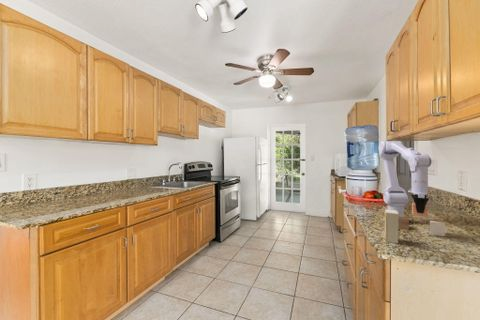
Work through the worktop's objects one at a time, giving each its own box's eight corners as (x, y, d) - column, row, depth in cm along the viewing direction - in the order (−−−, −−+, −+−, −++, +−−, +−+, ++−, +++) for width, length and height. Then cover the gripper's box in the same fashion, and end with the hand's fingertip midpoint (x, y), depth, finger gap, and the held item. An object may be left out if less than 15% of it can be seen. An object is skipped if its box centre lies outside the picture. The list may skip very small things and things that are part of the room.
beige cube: (430, 231, 100) (430, 220, 100) (444, 233, 97) (444, 222, 97) (429, 234, 96) (429, 223, 96) (445, 236, 93) (445, 225, 93)
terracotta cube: (412, 213, 100) (412, 202, 100) (426, 214, 98) (426, 203, 98) (413, 215, 96) (413, 204, 96) (427, 217, 93) (427, 205, 93)
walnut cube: (393, 225, 109) (393, 215, 109) (405, 226, 107) (405, 216, 107) (396, 228, 104) (395, 218, 104) (408, 229, 102) (408, 219, 102)
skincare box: (384, 237, 93) (384, 209, 93) (397, 239, 91) (397, 210, 91) (385, 242, 88) (385, 212, 87) (398, 244, 85) (398, 213, 85)
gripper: (407, 179, 105) (407, 207, 105) (409, 182, 93) (409, 213, 93) (426, 180, 101) (426, 209, 101) (431, 183, 89) (431, 216, 89)
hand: (419, 211), depth 97 cm, fingers closed on terracotta cube, 5 cm apart
